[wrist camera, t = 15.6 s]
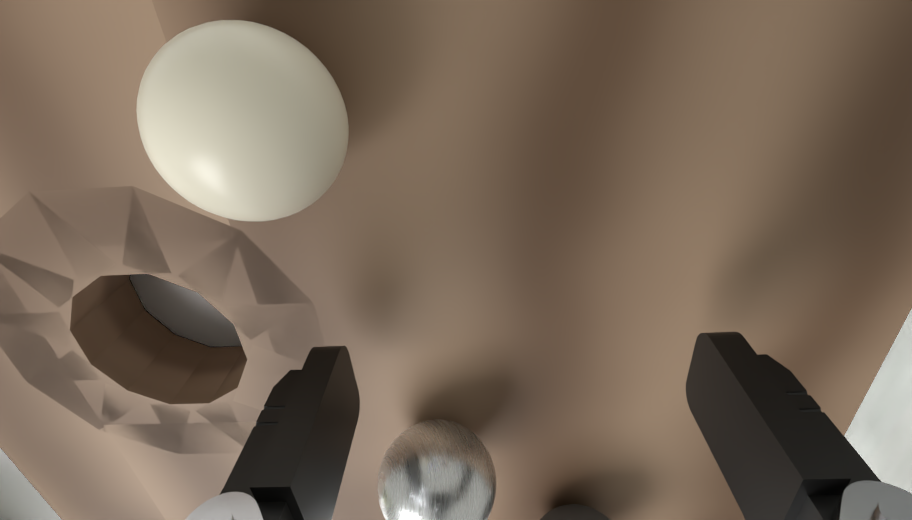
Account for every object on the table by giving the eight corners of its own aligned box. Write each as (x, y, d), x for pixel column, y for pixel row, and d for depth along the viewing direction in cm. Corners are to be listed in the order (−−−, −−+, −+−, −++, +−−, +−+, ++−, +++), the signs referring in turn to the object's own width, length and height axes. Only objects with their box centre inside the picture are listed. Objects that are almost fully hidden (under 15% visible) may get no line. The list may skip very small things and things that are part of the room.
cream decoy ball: (376, 177, 10) (339, 252, 7) (231, 184, 10) (140, 260, 7) (348, 7, 8) (287, 19, 6) (176, 20, 9) (36, 38, 6)
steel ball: (458, 423, 15) (362, 428, 14) (511, 410, 13) (400, 414, 11) (467, 536, 14) (362, 553, 13) (527, 546, 11) (405, 570, 10)
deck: (998, -130, 9) (1162, -164, 7) (756, 464, 18) (794, 529, 16) (-228, -24, 11) (-406, -25, 8) (117, 474, 20) (74, 534, 18)
